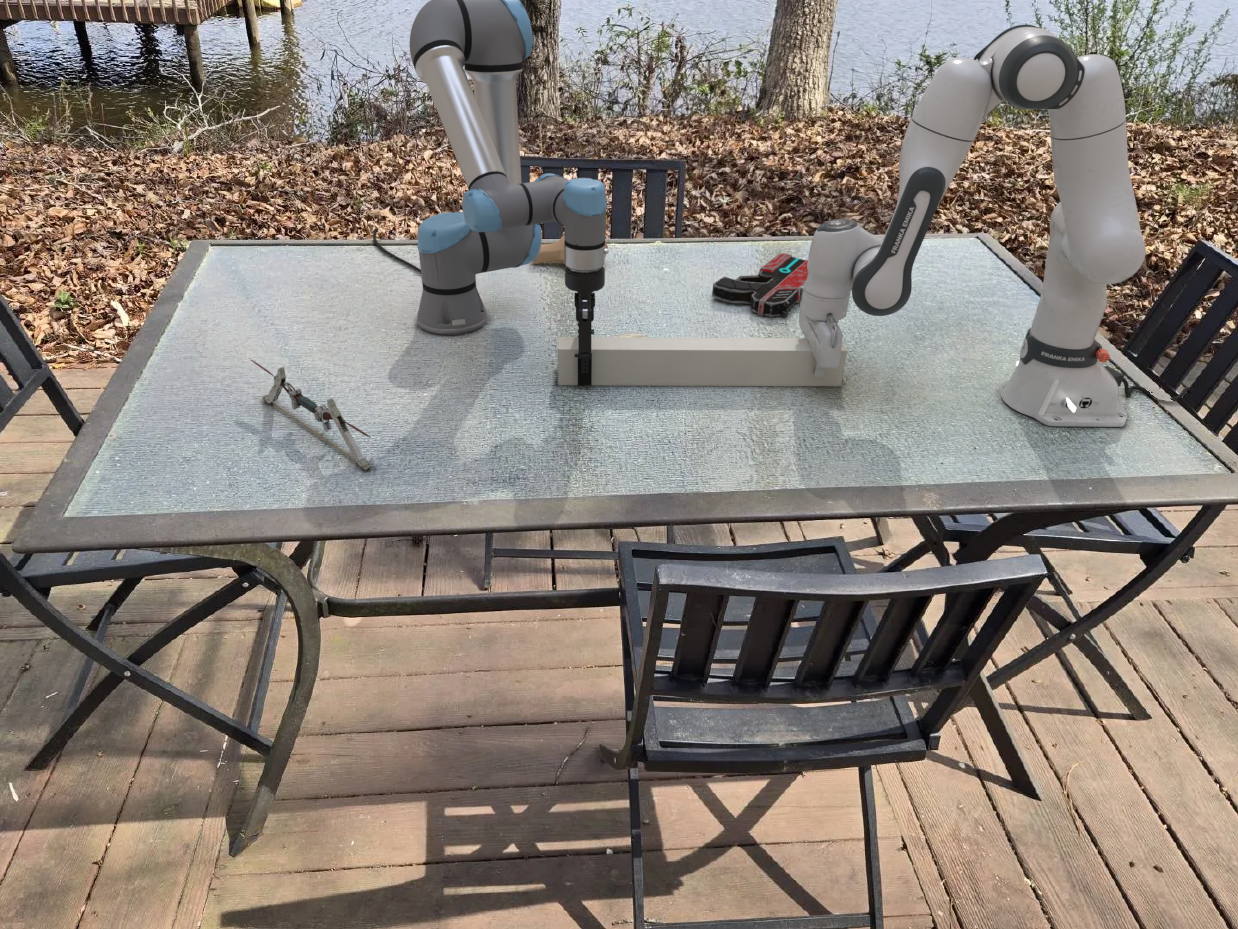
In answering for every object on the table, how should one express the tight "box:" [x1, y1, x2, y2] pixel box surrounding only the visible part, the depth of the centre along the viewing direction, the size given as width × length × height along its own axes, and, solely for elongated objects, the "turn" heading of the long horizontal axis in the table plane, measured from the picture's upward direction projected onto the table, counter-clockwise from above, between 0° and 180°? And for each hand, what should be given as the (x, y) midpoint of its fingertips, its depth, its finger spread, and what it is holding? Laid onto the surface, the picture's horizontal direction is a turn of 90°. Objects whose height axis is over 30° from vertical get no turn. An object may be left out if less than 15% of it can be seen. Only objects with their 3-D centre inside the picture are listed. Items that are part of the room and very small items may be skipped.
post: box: [557, 336, 848, 387], centre depth 175 cm, size 57×6×8 cm, turn 92°
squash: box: [532, 235, 609, 265], centre depth 226 cm, size 11×20×9 cm, turn 90°
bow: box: [250, 359, 373, 471], centre depth 154 cm, size 39×2×10 cm, turn 47°
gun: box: [711, 252, 808, 318], centre depth 215 cm, size 4×31×19 cm
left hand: (584, 374), depth 176 cm, fingers open, 8 cm apart
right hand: (814, 367), depth 177 cm, fingers closed on post, 5 cm apart
